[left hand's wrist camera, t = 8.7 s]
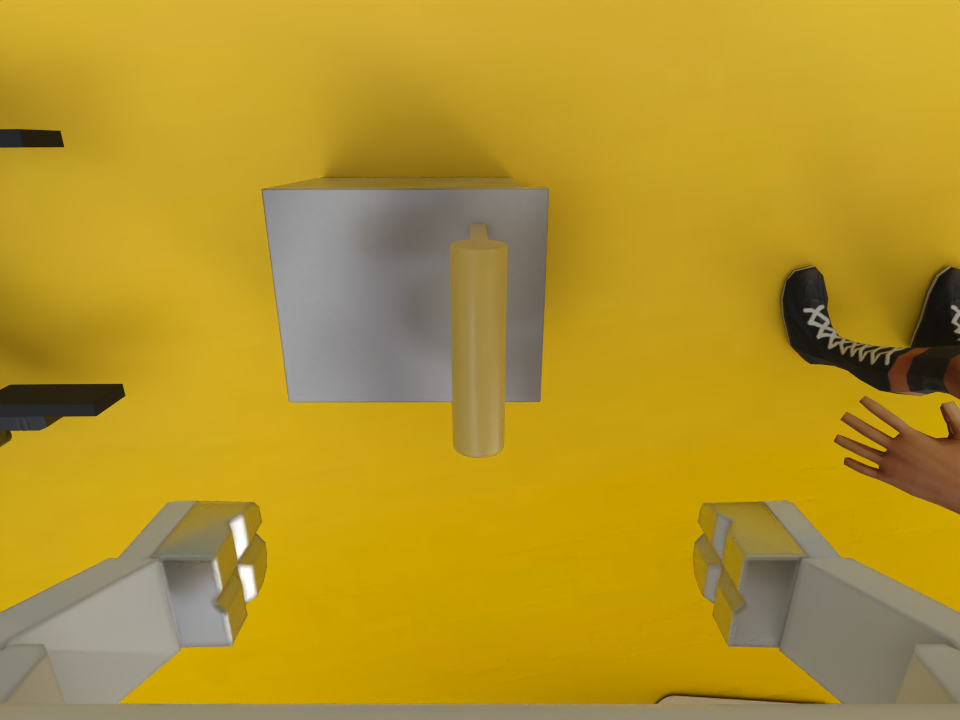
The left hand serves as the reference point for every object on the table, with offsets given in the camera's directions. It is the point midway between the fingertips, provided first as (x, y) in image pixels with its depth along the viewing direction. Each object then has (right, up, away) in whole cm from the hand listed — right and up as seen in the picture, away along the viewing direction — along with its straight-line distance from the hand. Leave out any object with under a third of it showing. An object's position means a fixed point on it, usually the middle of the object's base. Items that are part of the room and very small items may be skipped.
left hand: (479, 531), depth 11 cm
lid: (-3, +6, +17) cm, 18 cm away
